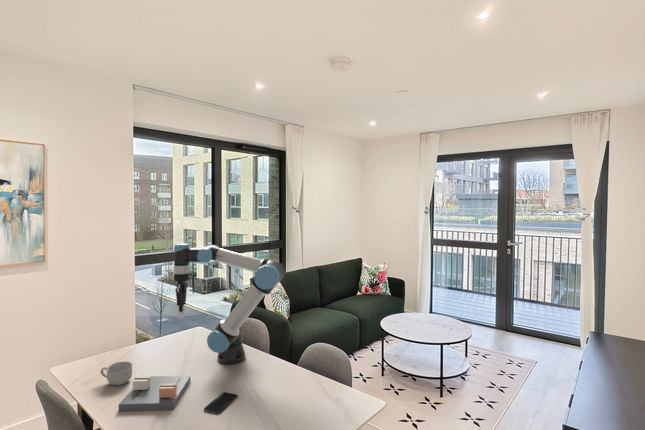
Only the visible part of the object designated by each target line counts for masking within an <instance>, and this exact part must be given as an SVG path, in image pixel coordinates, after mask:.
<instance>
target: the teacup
mask: <svg viewBox="0 0 645 430" xmlns="http://www.w3.org/2000/svg"><path fill="white" fill-rule="evenodd" d="M104 370H105V371H106V373H105V371H104ZM100 375H101V376H102V377H104V378H106V380H107V383H109V384H110V385H113V386H116V387H118V386H122V385H124V384H126V383H127V382H128V381H130V380H131V378H132V376H133V363H132V362H131V361H127V360H126V361H118V362H115V363H113V364H110V365H109V366H103V367H102V368H101V369H100Z"/></svg>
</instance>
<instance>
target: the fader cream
mask: <svg viewBox="0 0 645 430" xmlns="http://www.w3.org/2000/svg"><path fill="white" fill-rule="evenodd" d="M149 386H150V377H148V376H135V377H134V378H133V380H132V389H133V390H147V389H148V388H149Z"/></svg>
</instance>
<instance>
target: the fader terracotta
mask: <svg viewBox="0 0 645 430" xmlns="http://www.w3.org/2000/svg"><path fill="white" fill-rule="evenodd" d="M176 393H177V384H162V385H161V386H160V388H159V398H172V397H174V396H175V394H176Z"/></svg>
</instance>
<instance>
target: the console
mask: <svg viewBox="0 0 645 430" xmlns="http://www.w3.org/2000/svg"><path fill="white" fill-rule="evenodd" d="M147 377H150V386H149V388H148V389H147V390H133V388H132V389H131V390H130V391H129V392H128V393H127V394H126V395H125V397H124V398H123V399H121V401H120V402H119V403H118V412H137V411H138V412H141V411H142V412H143V411H146V412H147V411H173V410H174V409H175V408H176V406H177V405H178V403H179V401H180V399H181V398H182V396H183V394H184V393H185V391H186V390H187V388H188V387H189V385H190V383H191V375H164V376H163V375H161V376H160V375H158V376H157V375H156V376H152V375H151V376H147ZM162 384H177V393H176V394H175V396H174V397H172V398H159V388H160V386H161V385H162Z"/></svg>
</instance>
